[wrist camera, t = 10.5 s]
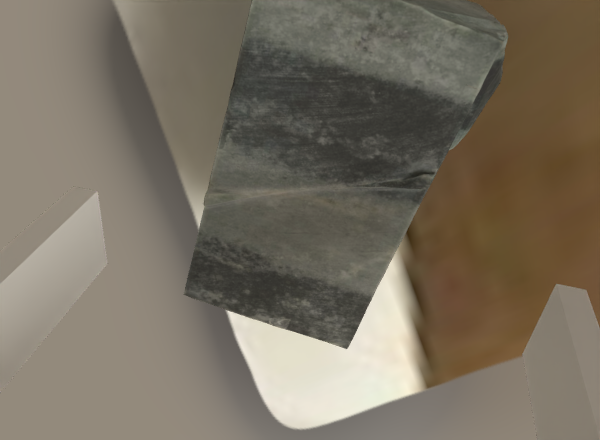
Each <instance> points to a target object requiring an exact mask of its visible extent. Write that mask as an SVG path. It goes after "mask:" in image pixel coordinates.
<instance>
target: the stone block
mask: <svg viewBox="0 0 600 440" xmlns="http://www.w3.org/2000/svg"><path fill="white" fill-rule="evenodd" d="M507 39H508V34H507V31H506V29H505V27H504V25H500V22H499V21H498V20H497V19H496V18H494V16H493V15H491V14H489V13H488V12H487V11H486V10H485V9H484V8H483V7H482V6H481V5H479V4H477V3H474V2H470V1H467V0H252V3H251V7H250V12H249V16H248V20H247V25H246V29H245V33H244V37H243V42H242V46H241V50H240V54H239V59H238V63H237V68H236V73H235V78H234V83H233V87H232V89H231V94H230V99H229V104H228V108H227V112H226V116H225V119H224V123H223V127H222V131H221V135H220V140H219V144H218V148H217V153H216V157H215V161H214V165H213V169H212V173H211V177H210V182H209V187H208V190H207V193H206V195H205V198H204V206H205V207H204V211H203V215H202V219H201V223H200V228H199V233H198V237H197V241H196V245H195V249H194V253H193V258H192V262H191V266H190V270H189V275H188V278H187V283H186V287H185V292H184V295H186V296H189V297H191V298H194V299H196V300H199V301H202V302H206V303H208V304H212V305H214V306H218V307H220V308H223V309H226V310H228V311H231V312H234V313H237V314H240V315H243V316H246V317H248V318H252V319H255V320H259V321H262V322H265V323H267V324H270V325H273V326H276V327H279V328H283V329H286V330H290V331H293V332H296V333H300V334H303V335H306V336H309V337H312V338H315V339H319V340H322V341H325V342H328V343H331V344H334V345H337V346H339V347H342V348H345V349H347V348H348V347H349V345H350V343H351V341H352V339H353V337H354V335H355V333H356V331H357V329H358V327H359V324H360V322H361V320H362V318H363V316H364V314H365V312H366V309H367V307H368V305H369V303H370V302H371V300H372V297H373V295H374V293H375V291H376V289H377V287H378V285H379V283H380V281H381V279H382V278H383V276H384V274H385V272H386V270H387V268H388V266H389V264H390V262H391V260H392V258H393V256H394V254H395V252H396V250H397V248H398V247H399V245H400V243H401V241H402V239H403V237H404V235H405V233H406V231H407V229H408V227H409V225H410V223H411V221H412V219H413V217H414V215H415V213H416V211H417V209H418V207H419V205H420V203H421V201H422V199H423V197H424V196H425V194H426V192H427V190H428V188H429V187H430V185H431V183H432V181H433V179H434V177H435V175H436V173H437V171H438V169H439V168H440V166H441V164H442V162H443V160H444V158H445V156H446V154H447V153H448V151H449V150H450V149H453V148H454V147H455V146H456V145H457V144H458V143H459V142H460V141H461V140H462V139H463V137H464V136H465V135H466V134H467V133H468V131H469V130H470V128H471V127H472V125H473V124H474V122H475V120H476V119H477V117H478V116H479V114H480V113H481V111H482V109H483V108H484V106H485V104H486V103H487V101H488V100H489V99H490V97H491V96H492V94H493V93H494V91H495V90H496V88H497V87H498V85H499V84H500V81H501V77H502V65H503V61H504V55H505V46H506V43H507Z"/></svg>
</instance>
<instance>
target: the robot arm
mask: <svg viewBox="0 0 600 440" xmlns="http://www.w3.org/2000/svg"><path fill="white" fill-rule="evenodd" d="M107 264H108V262H107V255H106V248H105V241H104V234H103V228H102V220H101V213H100V205H99V198H98V191H95V190H90V189H85V188H80V187H75V186H73V187H72V188H71V189H70V190H69V191H67V192H66V193H65V194H64V195H63V196H62V197H61V198H60V199H58V200H57V201H56V202H55V203H54V204H53V205H52V206H50V207H49V208H48V209H47V210H46V211H45V212H44V213H42V214H41V216H39V217H38V218H37V219H36V220H34V221H33V222H32V223H31V224H30V225H29V226H28V227H27V228H25V229H24V230H23V231H22V232H21V233H20V234H19V235H17V236H16V237H15V238H14V239H13V240H12V241H11V242H10V243H9V244H7V245H6V246H5V247H4V248H3V249H2V250H0V392H1V391H2V390H3V389H4V388H5V386H6V385H7V384H8V383H9V381H10V380H11V379H12V378H13V377H14V375H15V374H16V373H17V372H18V371H19V369H20V368H21V367H22V366H23V365H24V363H25V362H26V361H27V360H28V359H29V357H30V356H31V355H32V354H33V353H34V351H35V350H36V349H37V348H38V347H39V345H40V344H41V343H42V342H43V341H44V339H45V338H46V337H47V336H48V335H49V333H50V332H51V331H52V330H53V329H54V327H55V326H56V325H57V324H58V323H59V321H60V320H61V319H62V318H63V316H64V315H65V314H66V313H67V312H68V310H69V309H70V308H71V307H72V306H73V304H74V303H75V302H76V301H77V300H78V298H79V297H80V296H81V295H82V294H83V292H84V291H85V290H86V289H87V288H88V286H89V285H90V284H91V283H92V281H93V280H94V279H95V278H96V277H97V276H98V274H99V273H100V272H101V271H102V270H103V268H104V267H105V266H106V265H107ZM522 355H523V361H524V367H525V372H526V378H527V384H528V390H529V396H530V401H531V407H532V413H533V418H534V424H535V430H536V436H537V440H600V328H599V325H598V322H597V319H596V316H595V314H594V311H593V308H592V305H591V302H590V299H589V296H588V294H587V291H586V290H584V289H579V288H574V287H570V286H565V285H560V284H556V285H555V288H554V290H553V292H552V294H551V296H550V298H549V300H548V302H547V304H546V306H545V308H544V310H543V313H542V315H541V317H540V319H539V321H538V323H537V325H536V327H535V329H534V331H533V333H532V335H531V338H530V340H529V342H528V344H527V346H526V348H525V350H524V352H523V354H522Z"/></svg>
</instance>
